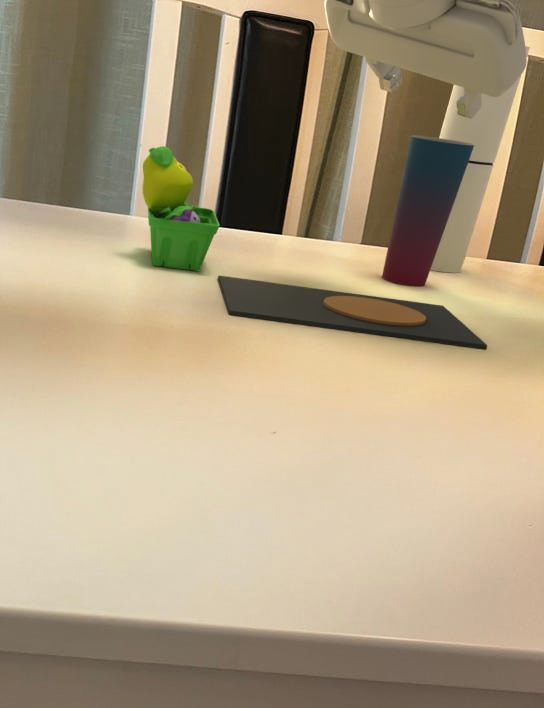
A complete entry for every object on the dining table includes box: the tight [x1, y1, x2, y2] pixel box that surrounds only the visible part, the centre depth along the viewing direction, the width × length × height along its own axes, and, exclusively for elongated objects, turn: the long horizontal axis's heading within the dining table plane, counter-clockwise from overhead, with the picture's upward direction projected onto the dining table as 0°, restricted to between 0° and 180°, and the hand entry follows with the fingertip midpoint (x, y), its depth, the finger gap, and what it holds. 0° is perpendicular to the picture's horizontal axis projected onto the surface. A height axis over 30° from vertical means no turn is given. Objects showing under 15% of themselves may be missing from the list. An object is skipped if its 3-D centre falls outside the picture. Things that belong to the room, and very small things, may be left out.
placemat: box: [217, 275, 488, 350], centre depth 99 cm, size 24×16×1 cm, turn 86°
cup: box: [381, 135, 474, 287], centre depth 114 cm, size 7×7×15 cm
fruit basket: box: [142, 145, 221, 272], centre depth 109 cm, size 11×9×11 cm
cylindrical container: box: [430, 45, 531, 273], centre depth 124 cm, size 7×7×25 cm
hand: (429, 99), depth 101 cm, fingers open, 8 cm apart
